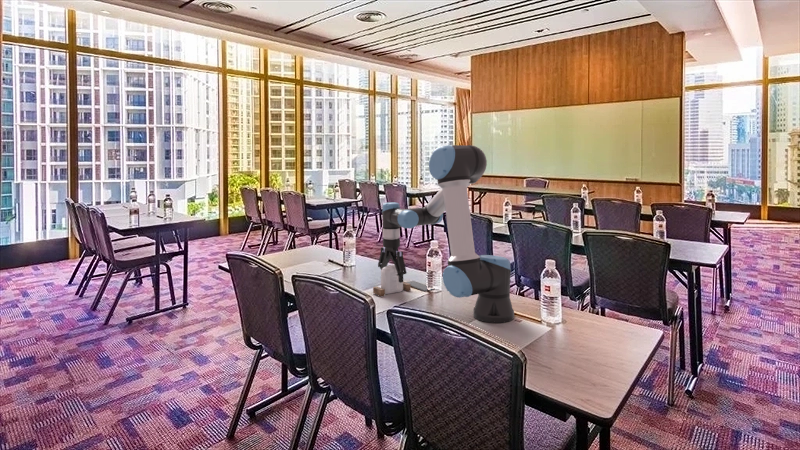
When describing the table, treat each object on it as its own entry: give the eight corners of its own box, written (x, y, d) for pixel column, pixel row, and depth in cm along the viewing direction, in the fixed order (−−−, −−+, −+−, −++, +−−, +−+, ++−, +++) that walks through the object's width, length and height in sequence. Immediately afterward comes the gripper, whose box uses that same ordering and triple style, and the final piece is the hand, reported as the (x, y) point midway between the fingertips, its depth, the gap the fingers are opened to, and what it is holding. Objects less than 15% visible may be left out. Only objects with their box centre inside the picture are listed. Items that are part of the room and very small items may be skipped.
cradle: (410, 290, 224) (410, 284, 223) (380, 296, 214) (380, 290, 214) (402, 287, 228) (402, 281, 228) (373, 293, 219) (373, 287, 219)
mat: (434, 289, 225) (434, 288, 225) (424, 291, 222) (424, 290, 222) (413, 281, 238) (413, 280, 238) (403, 283, 235) (403, 282, 235)
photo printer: (399, 289, 226) (398, 262, 224) (404, 291, 223) (404, 264, 221) (379, 293, 220) (379, 265, 219) (384, 295, 217) (384, 267, 215)
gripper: (414, 240, 210) (414, 290, 214) (383, 233, 230) (384, 279, 233) (400, 242, 206) (400, 293, 209) (369, 235, 225) (370, 282, 229)
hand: (392, 286), depth 221 cm, fingers open, 11 cm apart
